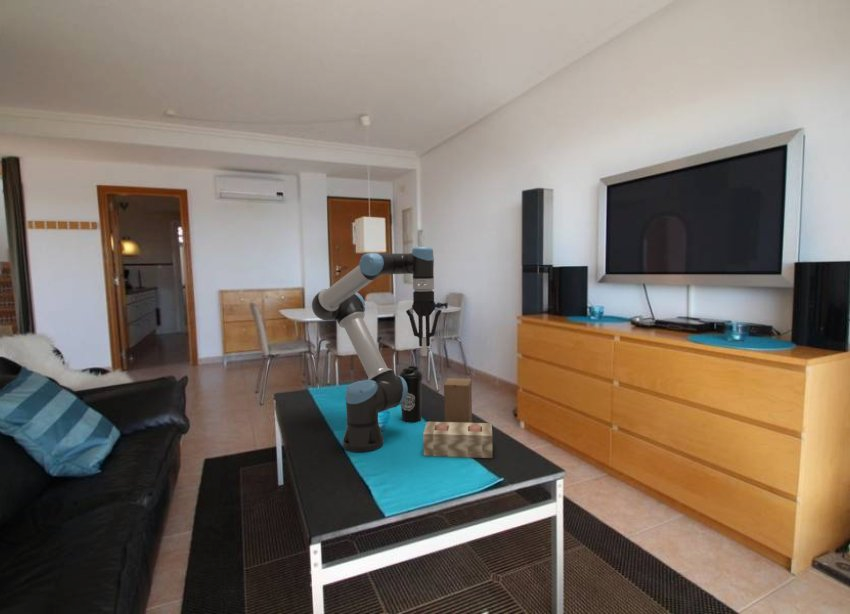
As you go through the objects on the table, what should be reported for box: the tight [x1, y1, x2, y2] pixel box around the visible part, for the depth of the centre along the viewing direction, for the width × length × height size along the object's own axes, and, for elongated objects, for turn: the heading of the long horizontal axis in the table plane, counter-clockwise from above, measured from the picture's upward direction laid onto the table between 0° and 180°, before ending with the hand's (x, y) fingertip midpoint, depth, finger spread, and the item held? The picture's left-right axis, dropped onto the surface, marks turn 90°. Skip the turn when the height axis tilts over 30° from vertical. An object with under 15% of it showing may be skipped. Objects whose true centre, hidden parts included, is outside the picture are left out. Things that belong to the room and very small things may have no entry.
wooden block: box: [443, 377, 473, 423], centre depth 178 cm, size 10×10×20 cm
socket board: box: [422, 421, 493, 459], centre depth 158 cm, size 24×12×8 cm, turn 83°
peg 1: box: [436, 424, 447, 431], centre depth 159 cm, size 4×4×8 cm
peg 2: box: [469, 425, 481, 432], centre depth 157 cm, size 4×4×8 cm
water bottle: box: [398, 365, 423, 424], centre depth 190 cm, size 10×10×23 cm
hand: (424, 355), depth 159 cm, fingers closed
